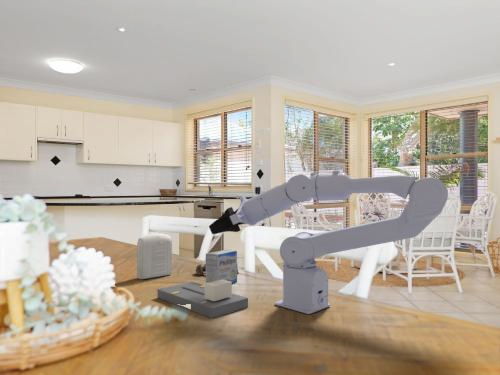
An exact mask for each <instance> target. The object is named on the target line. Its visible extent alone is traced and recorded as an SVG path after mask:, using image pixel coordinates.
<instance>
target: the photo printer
mask: <svg viewBox="0 0 500 375" xmlns="http://www.w3.org/2000/svg"><path fill="white" fill-rule="evenodd" d="M136 254H137V255H136V258H137V260H136V276H137V279H139V280H145V279H146V280H147V279H152V278H159V277H164V276H171V275H172V270H173V269H172V268H173V240H172V237H171V235H169V234H167V233H166V234H165V233H160V232H157V233H149V234H145V235H143V236H141V237H139V238H138V239H137V252H136Z"/></svg>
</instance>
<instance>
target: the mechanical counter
mask: <svg viewBox="0 0 500 375" xmlns="http://www.w3.org/2000/svg"><path fill="white" fill-rule="evenodd" d="M238 269H239V268H238V265H237V276H238V275H239V274H240V273H239V270H238ZM195 273H196V274H197V275H198V276H203V275H204V273H206V263H205V264H204V265H203V266H202V265H201V264H198V265H196V268H195Z"/></svg>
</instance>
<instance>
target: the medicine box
mask: <svg viewBox="0 0 500 375" xmlns="http://www.w3.org/2000/svg"><path fill="white" fill-rule="evenodd" d="M205 264H206V272H205V283H209V282H213V281H218V280H222V279H223V280H227V281H231V282H232V285H233V284H236V283H237V282H238V275H237V269H238V267H237V266H238V251H237V250H233V249H222V250H217V251H212V252H207V253H205Z"/></svg>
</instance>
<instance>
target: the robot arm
mask: <svg viewBox="0 0 500 375" xmlns="http://www.w3.org/2000/svg"><path fill="white" fill-rule="evenodd" d="M385 193H387V194H393V195H395V196H398V197H399V198H402V199H403V200H406V199H407V198H408V203H406V205H405V206H404V208H403V210H402V212H401V214H400V215H398V216H393V217H390V218H385V219H381V220H375V221H372V222H367V223H362V224H356V225H352V226H347V227H343V228H339V229H333V230H330V231H323V232H321V231H320V232H317V233H310V232H308V231H302V232H298V233H296V234H295V235H293V236H288V237H287V238H284V240H282V242H281V244H280V246H279V254H280V255H279V256H280V257H281V260H282V261H283V262H282V264H283V265H282V280H283V281H282V284H283V285H282V291H283V292H282V299H281V300H277V301H275V302H274V305H276V306H278V307H281V308H286V309H289V310H292V311H296V312H300V313H304V314H306V315H310V314H311V315H312V314H313V313H316V312H319V311H321V310H324V309H327V308H329V307H330V306H331V304H330V303H329V276H328V274H327V271H326V270H325V269H323V268H319V267H318V266H317V261H316V259H317V258H320V257H323V256H326V255H330V254H334V253H341V252H346V251H350V250H356V249H361V248H366V247H373V246H377V245H380V244H381V245H382V244H388V243H392V242H396V241H403V240H408V239H413V238H415V237H417V236H418V235H420V234H421V233H422V232H423V231H424V230H425V229H426V227H428V226H429V225H430V224H431V223H432V222H433V221H434V220H435V219H436V218H437V217H439V215H441V214H442V212H443V209H444V207H445V205H446V203H447V201H448V198H449V192H448V189H447V186H446V185H445V183H444V182H443V181H442V180H440V179H438V178H436V177H431V176H430V177H423V178H420V177H419V176H412V175H411V176H410V175H402V174H401V175H400V174H399V175H398V174H396V175H385V176H372V177H370V176H369V177H358V178H351V176H349V175H348V174H347V173H346V172H341V171H340V169H339V170H335V169H334V170H332V173H317V172H316V171H315V172H310V174H309V175H305V174H302V173H300V174H296V175H294V176H292V177H291V178H289V179H288V181H285V182H282V184H278V185H276V186H274V187H272V188H269V189H267V190H266V191H263V192H262V193H260V194H257V195H255V196H251V197H250V198H248V199H247V198H246V196H245V195H243V196H241V197H239V200H240V204H239V206H238V208H237V209H236V210H234V208H233V207H232V206H231V207H228V208H226V210H224V212H223V213H222V215H221V216H220V217H218V218H217V219H216V220H215V221H213V222H212V223H211V224H209V226H208V228H209V230H210V232H211V235H217V234H221V233H225V232H234V233H237V232H238V233H239V232H240V231H241V228H240V225H249V226H255V225H257V223H260V222H261V221H264V220H266V219H269V218H270V217H273V216H275V215H278V214H280V213H282V212H284V211H286V210H288V209H291V208H292V207H293V206H296V205H297V204H299V203H304V202H310V201H312V199H313V200H315V201H316V202H317V201H318V202H325V201H346V200H348V199H349V198H350V197H351V196H352V195H353V194H385ZM408 195H409V196H408Z"/></svg>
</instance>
